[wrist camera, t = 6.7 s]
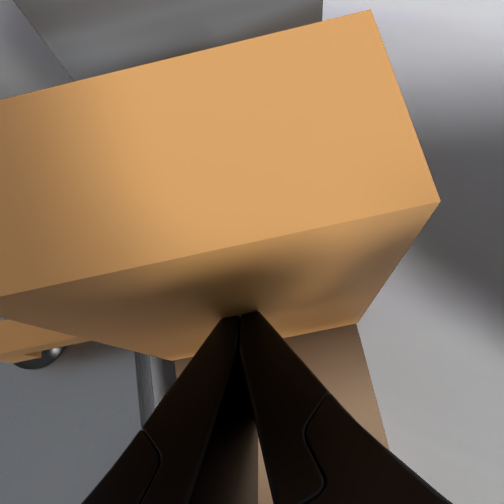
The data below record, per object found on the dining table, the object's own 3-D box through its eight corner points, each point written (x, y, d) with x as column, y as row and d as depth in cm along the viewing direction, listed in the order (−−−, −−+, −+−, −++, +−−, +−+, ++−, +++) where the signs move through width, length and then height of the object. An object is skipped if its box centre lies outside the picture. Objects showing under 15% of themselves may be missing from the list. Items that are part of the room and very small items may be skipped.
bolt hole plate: (179, 657, 13) (162, 692, 12) (-35, 692, 14) (-78, 729, 12) (125, 119, 20) (110, 96, 18) (-18, 153, 20) (-45, 133, 19)
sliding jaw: (356, 324, 14) (440, 201, 5) (12, 393, 14) (-438, 390, 6) (333, 237, 15) (370, 9, 6) (13, 305, 15) (-371, 190, 7)
